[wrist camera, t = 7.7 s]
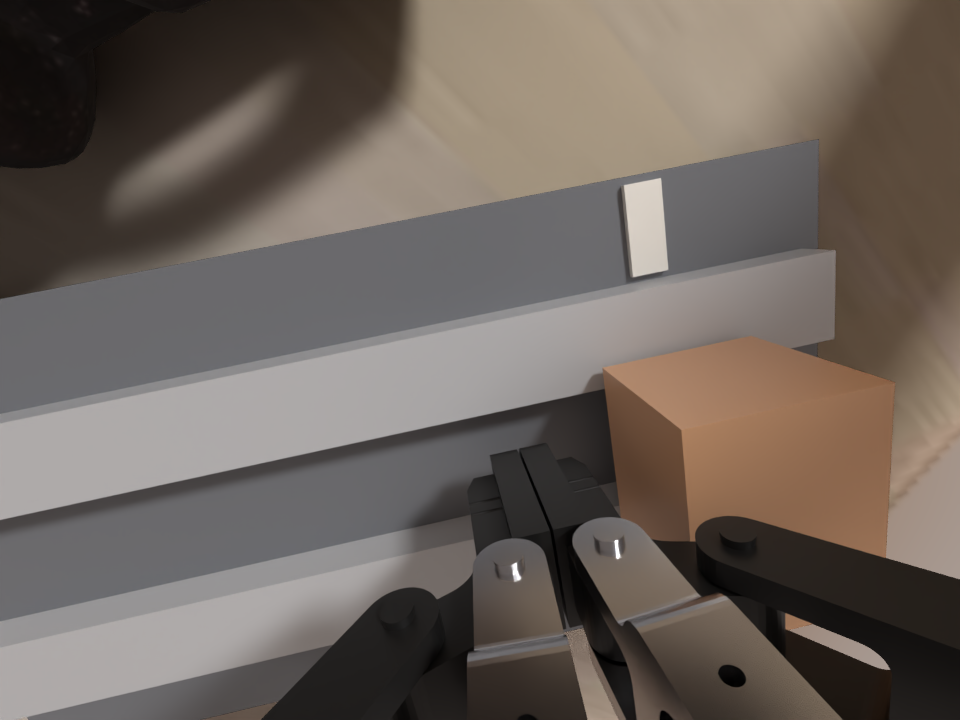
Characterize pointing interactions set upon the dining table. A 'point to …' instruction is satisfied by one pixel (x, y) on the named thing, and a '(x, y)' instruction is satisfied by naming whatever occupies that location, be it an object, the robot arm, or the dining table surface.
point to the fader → (752, 443)
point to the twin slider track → (343, 418)
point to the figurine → (57, 72)
